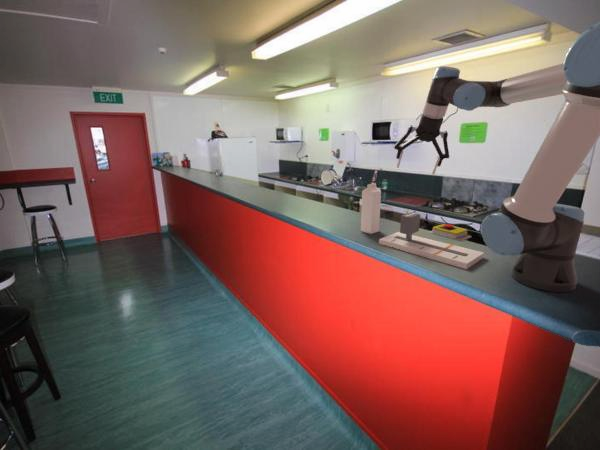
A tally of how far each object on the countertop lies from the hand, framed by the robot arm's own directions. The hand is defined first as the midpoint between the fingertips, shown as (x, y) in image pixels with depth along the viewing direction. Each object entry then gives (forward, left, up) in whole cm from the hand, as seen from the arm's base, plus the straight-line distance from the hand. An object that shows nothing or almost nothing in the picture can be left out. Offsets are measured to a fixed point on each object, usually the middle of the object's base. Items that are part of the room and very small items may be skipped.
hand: (415, 169), depth 120 cm
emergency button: (-9, -17, -30) cm, 36 cm away
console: (-12, +8, -29) cm, 32 cm away
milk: (+18, +4, -29) cm, 34 cm away
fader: (-4, +8, -26) cm, 28 cm away
